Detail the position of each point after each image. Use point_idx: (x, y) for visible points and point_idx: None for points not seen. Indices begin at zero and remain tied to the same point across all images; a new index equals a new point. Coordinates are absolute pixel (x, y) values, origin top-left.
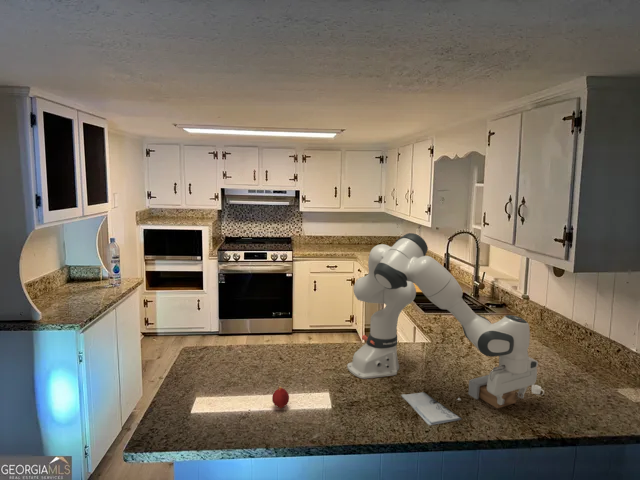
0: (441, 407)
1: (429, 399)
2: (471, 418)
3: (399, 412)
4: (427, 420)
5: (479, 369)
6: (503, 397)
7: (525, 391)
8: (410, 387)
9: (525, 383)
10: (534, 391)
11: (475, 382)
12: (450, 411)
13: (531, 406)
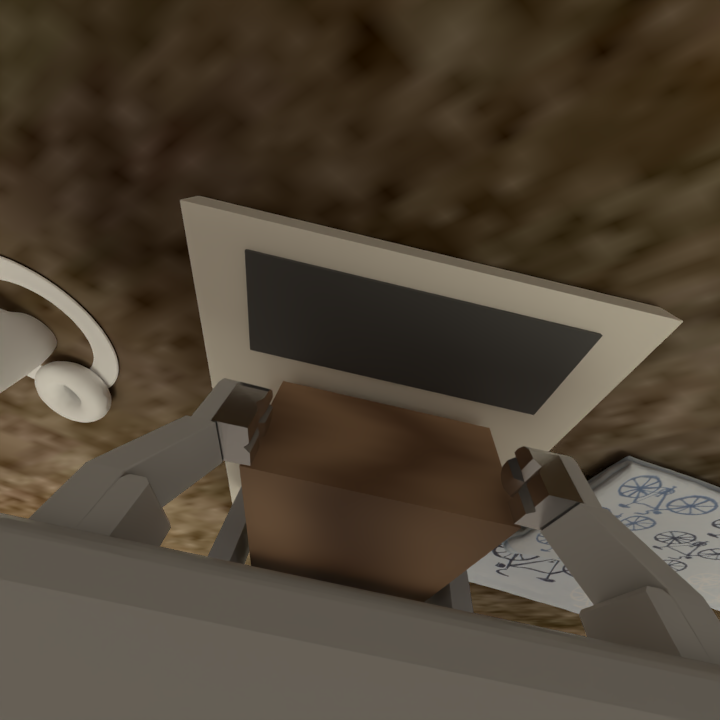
0: None
1: (576, 582)
2: (678, 464)
3: None
4: None
5: (174, 538)
6: (439, 493)
7: (146, 434)
8: (512, 609)
9: (12, 692)
10: (4, 359)
11: None
12: (685, 541)
13: (170, 287)
